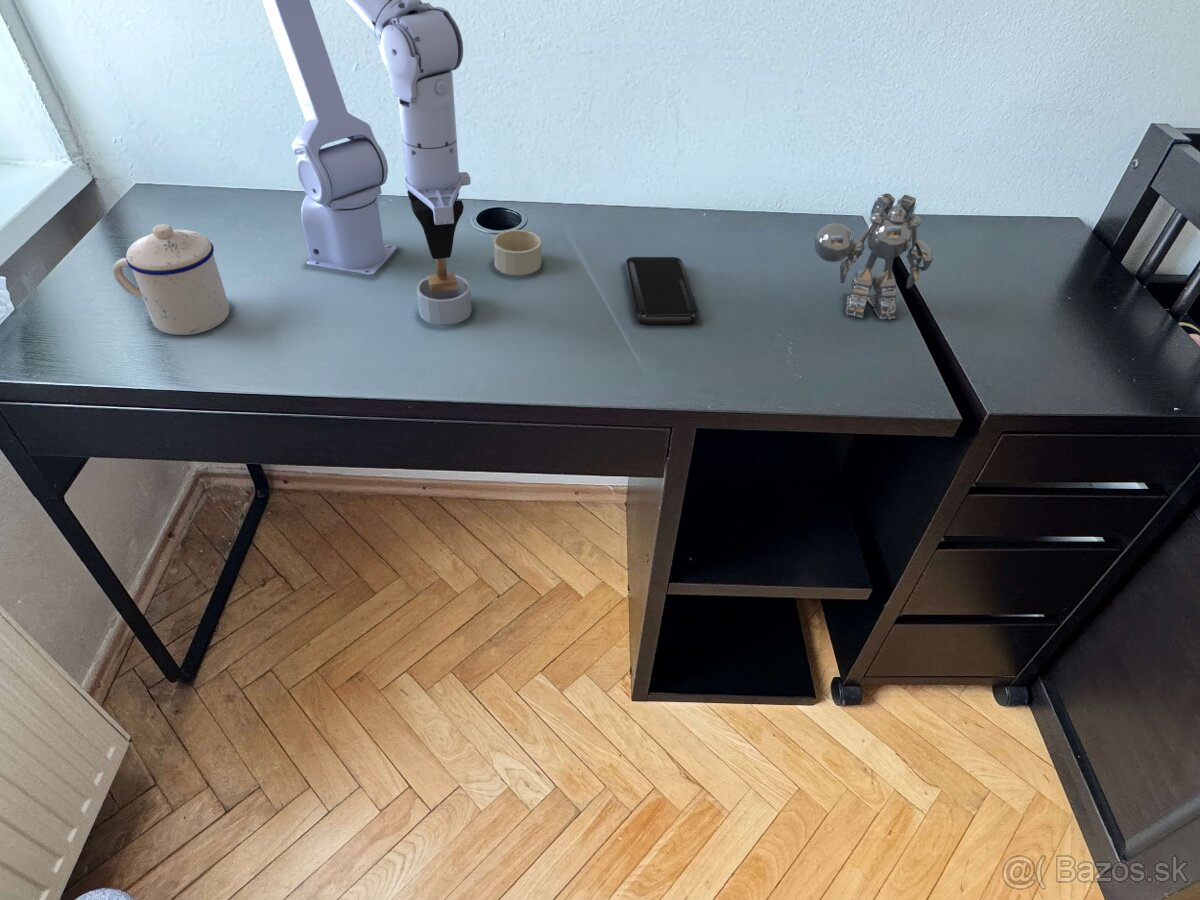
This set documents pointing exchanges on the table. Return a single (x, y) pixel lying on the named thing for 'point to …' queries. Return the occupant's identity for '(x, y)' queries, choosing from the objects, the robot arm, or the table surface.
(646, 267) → the phone
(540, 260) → the cream cup
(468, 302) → the grey cup
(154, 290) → the teacup with lid
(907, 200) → the robot toy
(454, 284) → the wooden wall peg
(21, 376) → the table surface
